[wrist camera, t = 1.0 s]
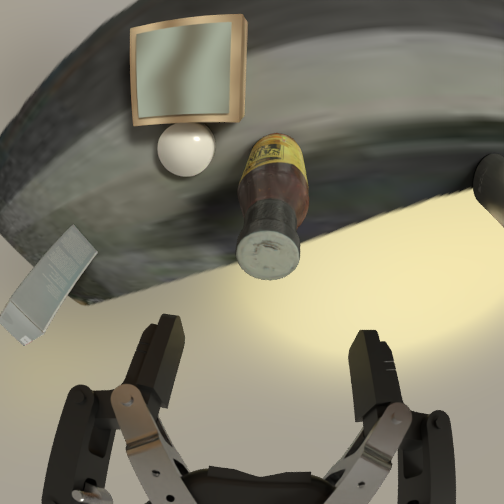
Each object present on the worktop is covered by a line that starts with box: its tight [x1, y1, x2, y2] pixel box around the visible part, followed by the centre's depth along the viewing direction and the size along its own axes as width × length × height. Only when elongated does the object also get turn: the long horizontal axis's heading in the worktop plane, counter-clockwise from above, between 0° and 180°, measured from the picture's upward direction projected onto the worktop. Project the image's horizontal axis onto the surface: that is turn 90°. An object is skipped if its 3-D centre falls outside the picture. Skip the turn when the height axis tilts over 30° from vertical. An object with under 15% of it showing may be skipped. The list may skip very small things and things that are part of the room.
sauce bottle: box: [235, 133, 309, 280], centre depth 24 cm, size 6×6×20 cm
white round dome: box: [157, 122, 216, 177], centre depth 31 cm, size 7×7×2 cm
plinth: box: [130, 14, 248, 126], centre depth 24 cm, size 12×12×5 cm
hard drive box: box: [0, 225, 98, 346], centre depth 38 cm, size 16×8×20 cm, turn 122°
